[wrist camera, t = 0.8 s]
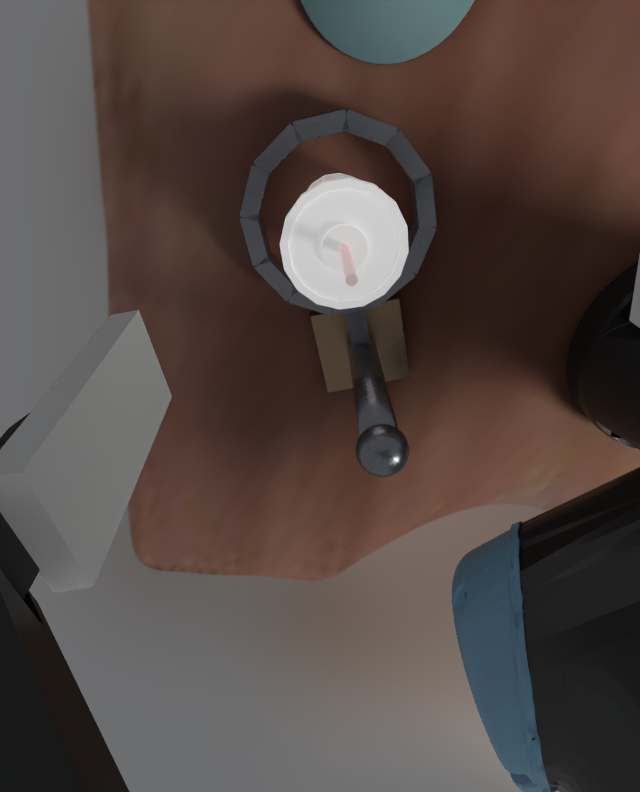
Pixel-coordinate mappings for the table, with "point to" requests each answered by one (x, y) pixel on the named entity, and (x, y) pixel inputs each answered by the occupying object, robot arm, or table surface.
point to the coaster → (385, 26)
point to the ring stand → (361, 326)
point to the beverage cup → (344, 242)
